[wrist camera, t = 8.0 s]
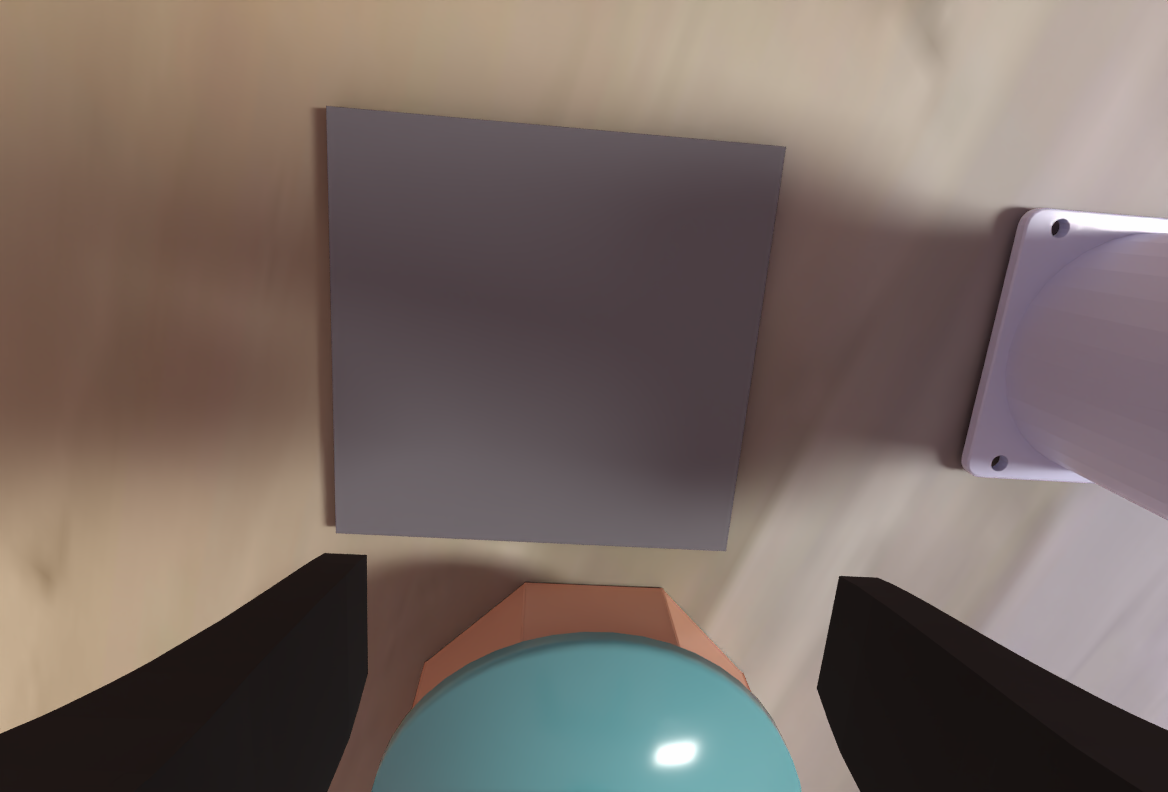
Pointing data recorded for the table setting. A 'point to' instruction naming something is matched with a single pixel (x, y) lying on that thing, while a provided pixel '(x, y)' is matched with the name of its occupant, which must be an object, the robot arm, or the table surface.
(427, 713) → the lid
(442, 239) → the mat
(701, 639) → the ramekin
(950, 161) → the table surface
